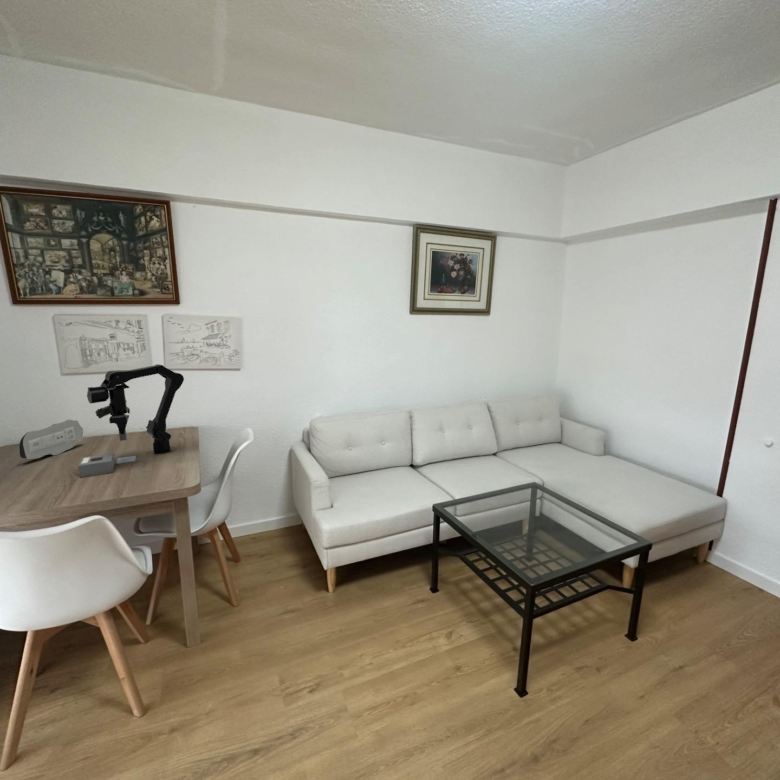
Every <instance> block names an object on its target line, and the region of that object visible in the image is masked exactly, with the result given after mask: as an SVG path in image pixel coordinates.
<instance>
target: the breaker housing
mask: <svg viewBox="0 0 780 780" xmlns="http://www.w3.org/2000/svg"><path fill="white" fill-rule="evenodd" d="M115 459H116V458H115V453H114V452H110V453H103V454H99V455H98V454H97V455H90V456H82V459H81V460H80V461H79V464H78V466H77V467H78V473H79V478H85V477H92V476H98V475H99V476H100V475H105V474H111V473H113V471H114V468H115V465H116V460H115Z"/></svg>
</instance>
